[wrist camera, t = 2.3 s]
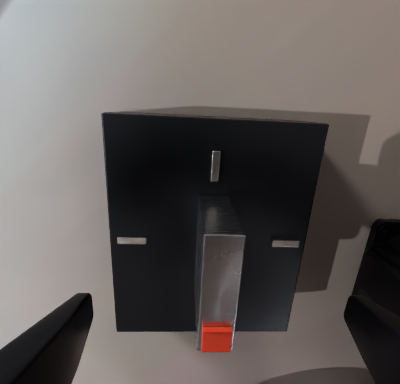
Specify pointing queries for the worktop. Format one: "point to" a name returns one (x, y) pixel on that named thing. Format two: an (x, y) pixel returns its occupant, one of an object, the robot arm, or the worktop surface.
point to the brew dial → (217, 273)
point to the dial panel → (188, 211)
